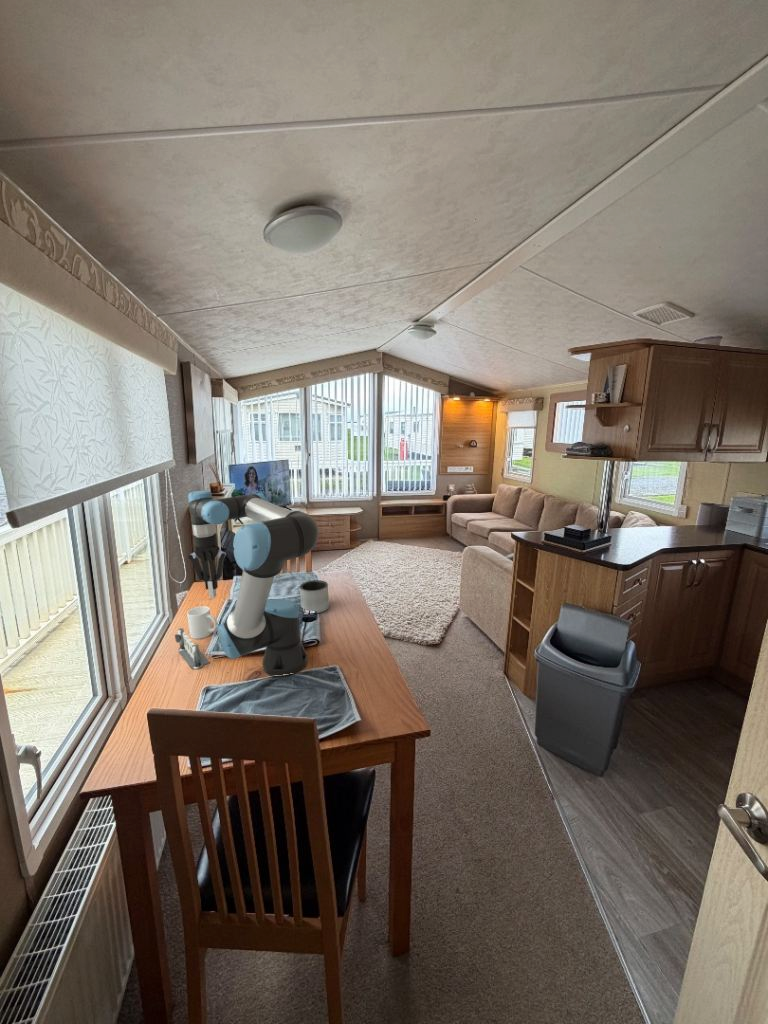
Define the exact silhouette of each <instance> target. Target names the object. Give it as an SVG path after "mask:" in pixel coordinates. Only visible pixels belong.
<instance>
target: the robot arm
mask: <svg viewBox="0 0 768 1024" xmlns="http://www.w3.org/2000/svg"><path fill="white" fill-rule="evenodd" d="M187 496H188V503H187V504H188V506H189V513H190V520H191V528H192V535H193V536H194V537H193V543H194V551H193V552H191V553H190V554H188V557H187V558H188V559H189V560H190V562H191V563H192V566H193V567H194V570H195V573H196V575H197V579H198V580H199V581H204V584H205V585H204V586H205V590H208V595H209V596H208V597H209V600H211V599H215V598H216V597H217V590H218V589H217V588H218V587H219V586H218V580H220V578H222V577H223V572H224V571H223V570H224V562H225V557H226V556H227V554H228V553H227V551H222V550H221V549H220V546H218V545H219V543H218V536H217V534H216V533H217V529H216V528H217V527H216V525H221V524H224V523H225V522H226V521H231V520H236V519H241V518H242V519H243V518H245V517H246V518H249V519H251V520H252V521H254V522H251V523H248V524H245V525H242V526H241V527H239V528H238V529H237V531H236V533H235V535H234V539H233V543H232V544H233V545H232V546H233V548H234V549H233V556H234V559H235V562H236V564H237V565H238V567H239V568H240V569H241V570H242V574H241V579H240V583H239V588H238V593H237V596H236V602H235V606H234V609H233V610H232V611H231V612H230V613H229V614H228V616H227V620H226V622H221V623H220V624H217V629H216V630H217V635H218V639H219V642H220V646H221V647H222V650H223V652H224V654H225V655H226V657H227V658H228V659H229V660H234V659H238V658H241V657H244V656H246V655H248V654H251V653H253V652H255V651H257V650H260V649H263V648H265V651H264V655H263V659H262V668H263V671H264V673H265V674H267V675H269V676H271V675H283V674H290V673H295V674H297V673H298V672H301V671H302V670H304V668H305V667H306V665H307V664H308V655H307V652H306V649H305V648H304V645H303V643H302V640H301V625H300V612H299V606H298V605H297V603H296V602H294V601H293V600H290V599H286V598H285V599H284V598H283V599H282V598H274V599H270V600H269V596H270V592H271V590H272V585H273V582H274V579H275V577H276V576H278V575H279V574H280V573H281V571H282V569H283V567H284V564H285V562H286V561H289V560H295V559H298V558H301V557H303V556H306V555H307V554H309V553H310V552H311V551H313V549H314V548H315V546H317V544H318V541H319V538H320V537H319V536H320V529H319V526H318V523H317V521H316V520H315V519H314V517H312V515H310V514H307V513H306V512H304V511H301V510H292V511H291V510H289V509H287V508H284V507H282V506H280V505H276V504H274V503H271V502H270V501H268V499H267V498H266V496H265V495H264V494H263V493H260V492H258V493H249V494H243V495H237V496H230V497H229V496H228V497H222V498H217V499H213V498H214V497H213V495H212V492H211V491H210V490H196V491H191V492H189V493H188V495H187ZM217 556H218V560H217V561H218V563H217V564H216V557H217ZM198 558H199V559H200V561H199V559H198ZM216 565H217V566H216ZM296 672H297V673H296Z"/></svg>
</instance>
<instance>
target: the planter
mask: <svg viewBox="0 0 768 1024" xmlns="http://www.w3.org/2000/svg"><path fill="white" fill-rule="evenodd" d="M299 595H300V608H301V607H302V608H303V609H305V610H312V611H317V613H316V614H320V613H321V614H322V613H324V612H326V611H327V610H328V609H329V607H330V596H329V583H327V581H324V580H319V579H314V580H308V581H305V582H303V583H301V584H300V585H299Z"/></svg>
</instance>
